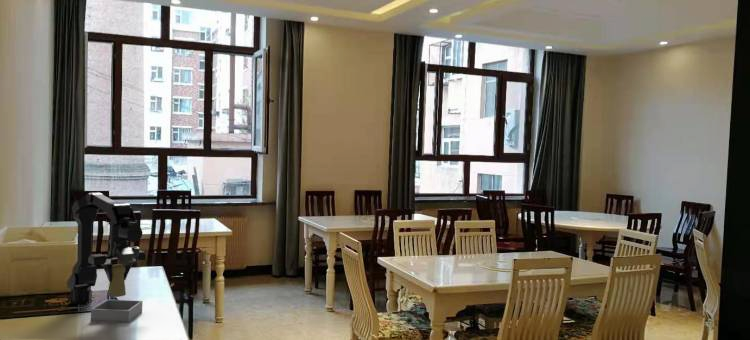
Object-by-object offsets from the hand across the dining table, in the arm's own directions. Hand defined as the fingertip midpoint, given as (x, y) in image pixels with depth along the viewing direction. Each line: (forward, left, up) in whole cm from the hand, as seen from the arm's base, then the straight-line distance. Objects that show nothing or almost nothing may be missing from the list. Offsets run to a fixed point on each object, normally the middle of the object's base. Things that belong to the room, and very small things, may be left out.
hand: (117, 281), depth 199 cm
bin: (0, 0, -13) cm, 13 cm away
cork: (0, 0, -5) cm, 5 cm away
